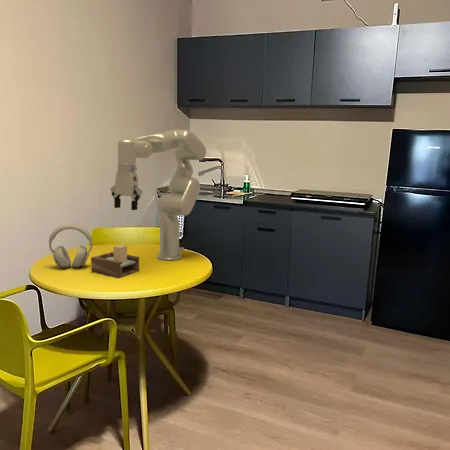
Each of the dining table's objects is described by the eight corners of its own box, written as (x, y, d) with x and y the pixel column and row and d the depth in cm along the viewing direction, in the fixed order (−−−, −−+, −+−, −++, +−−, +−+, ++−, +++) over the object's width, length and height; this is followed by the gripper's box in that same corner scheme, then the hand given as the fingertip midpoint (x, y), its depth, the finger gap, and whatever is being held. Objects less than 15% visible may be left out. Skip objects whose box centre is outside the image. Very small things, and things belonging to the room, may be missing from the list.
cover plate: (112, 258, 209) (112, 241, 207) (135, 263, 202) (135, 245, 201) (96, 263, 201) (96, 245, 199) (120, 268, 194) (119, 249, 192)
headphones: (93, 263, 214) (92, 221, 211) (91, 269, 204) (90, 225, 201) (52, 264, 211) (50, 222, 207) (47, 270, 201) (45, 226, 197)
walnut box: (112, 265, 212) (112, 251, 211) (139, 271, 204) (139, 256, 203) (91, 272, 201) (91, 257, 200) (118, 278, 193) (118, 263, 192)
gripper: (148, 170, 195) (146, 210, 197) (117, 168, 204) (116, 206, 206) (136, 170, 189) (135, 211, 191) (105, 168, 197) (104, 207, 199)
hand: (125, 208), depth 198 cm, fingers open, 9 cm apart
